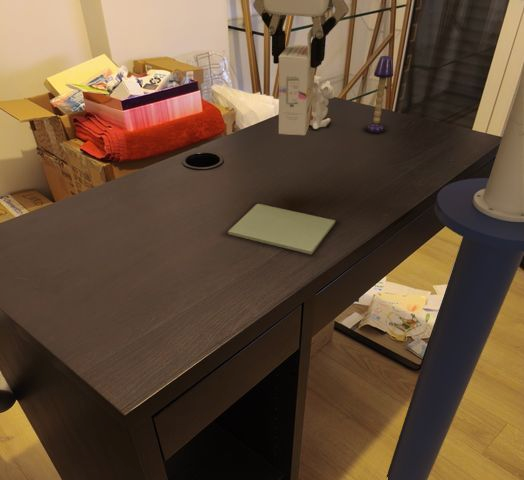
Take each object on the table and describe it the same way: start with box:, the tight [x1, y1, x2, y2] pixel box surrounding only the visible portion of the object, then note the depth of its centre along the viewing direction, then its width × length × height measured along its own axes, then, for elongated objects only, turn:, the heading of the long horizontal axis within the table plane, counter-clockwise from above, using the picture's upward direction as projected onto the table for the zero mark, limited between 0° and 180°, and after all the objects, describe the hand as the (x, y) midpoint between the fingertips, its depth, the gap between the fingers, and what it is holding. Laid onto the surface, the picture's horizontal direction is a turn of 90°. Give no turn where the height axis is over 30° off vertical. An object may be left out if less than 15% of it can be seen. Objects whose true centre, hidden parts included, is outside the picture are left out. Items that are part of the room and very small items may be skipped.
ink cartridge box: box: [278, 26, 316, 136], centre depth 79 cm, size 9×5×15 cm, turn 168°
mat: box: [227, 203, 336, 255], centre depth 87 cm, size 16×12×1 cm
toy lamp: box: [366, 55, 394, 134], centre depth 119 cm, size 5×5×17 cm
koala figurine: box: [309, 75, 336, 130], centre depth 123 cm, size 8×7×12 cm
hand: (297, 62), depth 77 cm, fingers closed on ink cartridge box, 5 cm apart
